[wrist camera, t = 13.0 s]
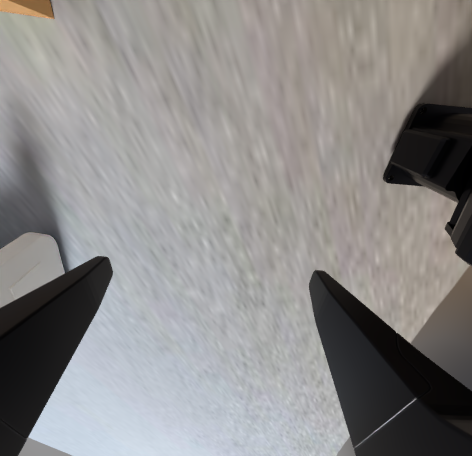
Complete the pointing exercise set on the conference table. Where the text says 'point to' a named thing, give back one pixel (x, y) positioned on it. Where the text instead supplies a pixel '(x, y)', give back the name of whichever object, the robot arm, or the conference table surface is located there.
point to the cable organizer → (28, 265)
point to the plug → (28, 7)
